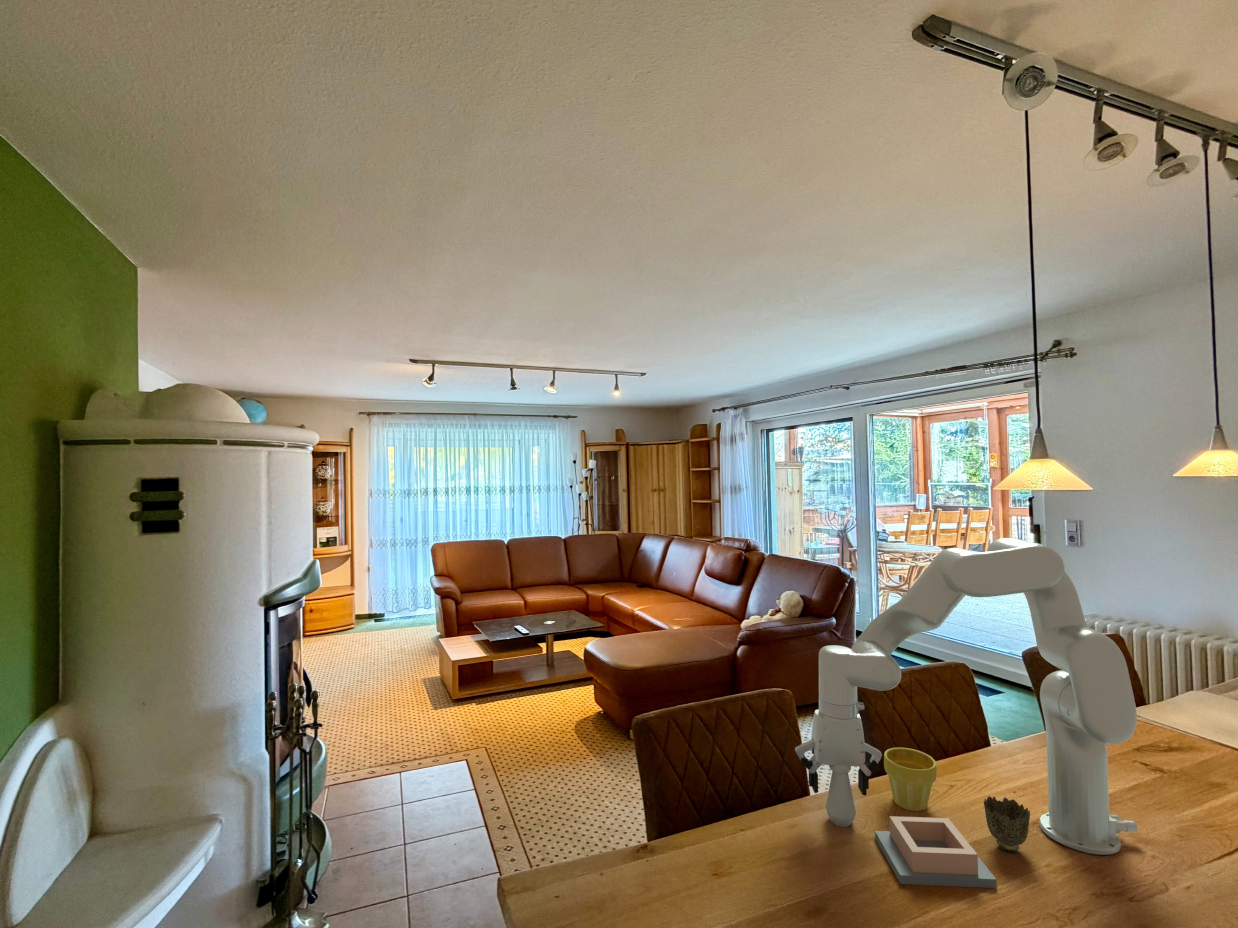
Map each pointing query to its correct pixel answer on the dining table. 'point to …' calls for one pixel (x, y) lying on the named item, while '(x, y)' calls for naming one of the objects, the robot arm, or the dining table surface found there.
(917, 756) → the plant pot
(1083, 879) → the dining table surface
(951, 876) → the socket base
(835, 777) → the salt shaker
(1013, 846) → the cup
